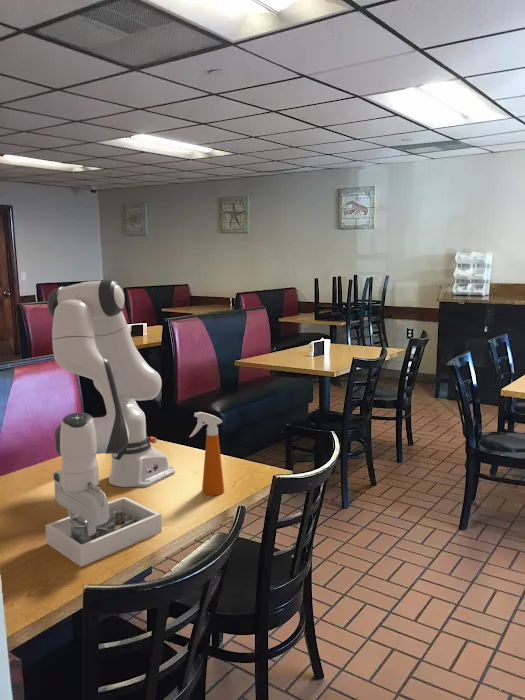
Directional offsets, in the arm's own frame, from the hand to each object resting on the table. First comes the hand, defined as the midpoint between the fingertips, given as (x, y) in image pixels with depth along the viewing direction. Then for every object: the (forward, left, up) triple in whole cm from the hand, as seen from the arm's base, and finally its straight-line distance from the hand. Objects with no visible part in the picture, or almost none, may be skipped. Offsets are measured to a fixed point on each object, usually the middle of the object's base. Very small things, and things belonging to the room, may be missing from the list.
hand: (82, 529), depth 143 cm
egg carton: (-10, -1, -5) cm, 11 cm away
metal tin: (0, 0, -4) cm, 4 cm away
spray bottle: (-44, -1, -5) cm, 44 cm away
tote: (-6, 0, -4) cm, 8 cm away
